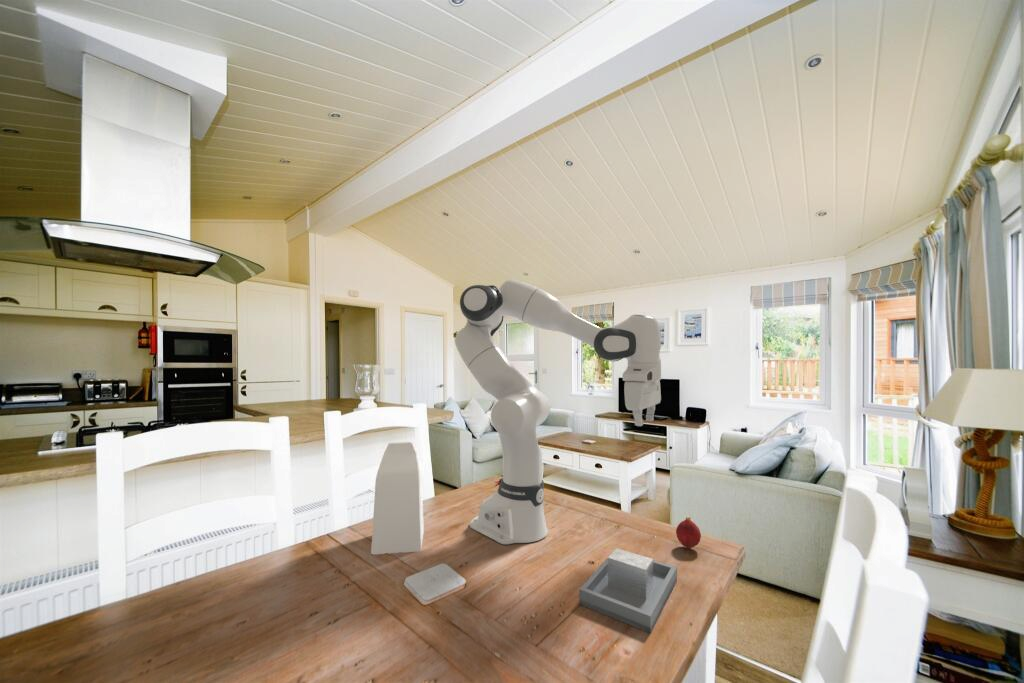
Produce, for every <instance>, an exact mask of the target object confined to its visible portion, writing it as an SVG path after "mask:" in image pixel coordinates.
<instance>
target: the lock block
mask: <svg viewBox="0 0 1024 683" xmlns="http://www.w3.org/2000/svg"><path fill="white" fill-rule="evenodd" d="M611 553H612V554H611ZM611 553H610V554H611V555H610V554H609V555H610V556H609V555H608V557H607V558H608V587H611V588H614V589H616V590H619V591H622V592H625V593H627V594H630V595H633V596H636V597H638V598H641V599H644V600H647V598H648V596H649V595H650V593H651V591H652V590H653V560H654V559H653V558H651V557H647V556H644V555H640V554H637V553H634V552H630V551H627V550H624V549H622V548H621V549H620V548H615V549H614V550H613V551H612V552H611Z"/></svg>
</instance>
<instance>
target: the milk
mask: <svg viewBox="0 0 1024 683" xmlns="http://www.w3.org/2000/svg"><path fill="white" fill-rule="evenodd" d="M418 455H419V454H418V453H417V450H416V448H415V446H414V444H413V441H401V442H400V441H397V442H391V441H390V442H389V443H388V444H387V446H386V448H385V450H384V453H383V455H382V457H381V461H380V463H379V467H378V469H377V473H376V477H375V482H374V483H375V484H374V486H375V487H374V500H373V516H372V530H371V532H372V534H371V536H372V537H371V551H370V555H371V554H373V555H383V554H384V555H385V553H388V554H400V553H399V552H402V553H415V552H416V553H417V552H422V546H423V539H424V533H425V532H424V531H425V529H424V528H425V526H424V524H425V522H424V503H423V502H424V500H423V498H424V497H423V475H422V474H423V473H422V472H423V471H422V463H421V461H420V458H419V456H418Z"/></svg>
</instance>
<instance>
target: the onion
mask: <svg viewBox="0 0 1024 683" xmlns="http://www.w3.org/2000/svg"><path fill="white" fill-rule="evenodd" d="M675 530H676V531H675V534H676V535H675V536H676V538H677V540H678V541H679V543H680V544H681V545H682V546H683V547H685V548H686V549H688V550H689V549H692V548H694V547H696V546H697V545H699V543H700V541H701V538H702V533H701V530H700V528H699V526H697V524H696V523H695V522H693V521H692V520H691V516H686V517H685V519H684V520H682V521H680V522H679V523H678V525H677V527H676V529H675Z"/></svg>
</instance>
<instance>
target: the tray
mask: <svg viewBox="0 0 1024 683" xmlns="http://www.w3.org/2000/svg"><path fill="white" fill-rule="evenodd" d="M611 554H612V552H611V553H610V554H609V555H608V557H609V556H610V555H611ZM608 557H607V558H606V559H604V561H603V562H602V563H601V564H599V567H597V569H596V570H595V571H594V572H593V573H592V574H591V575H590V577H589V578H588V579H586V581H585V582H584V583H583V584H582V586H581V587H580V588H579V589H578V590H579V592H578V593H579V594H578V595H579V596H578V599H579V600H578V605H580V606H581V607H584V608H587V609H590V610H592V611H594V612H596V613H599V614H602V615H604V616H607V617H610V618H612V619H614V620H616V621H619V622H622V623H623V624H627V625H629V626H630V627H634V628H637V629H639V630H642V631H644V632H647V633H649V634H651V633H652V631H653V630H654V627H655V626H656V624H657V622H658V620H659V617H660V615H661V613H662V612H663V609H664V608H665V607H666V603H667V602H668V600H669V597H670V596H671V593H672V591H673V589H674V588H675V586H676V584H677V582H678V568H677V566H674V565H672V564H667V563H664V562H661V561H658V560H654V559H653V590H652V591H651V593H650V595H649V596H648V598H647V600H644V599H641V598H638V597H636V596H633V595H630V594H627V593H625V592H622V591H619V590H616V589H614V588H611V587H608Z"/></svg>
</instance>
